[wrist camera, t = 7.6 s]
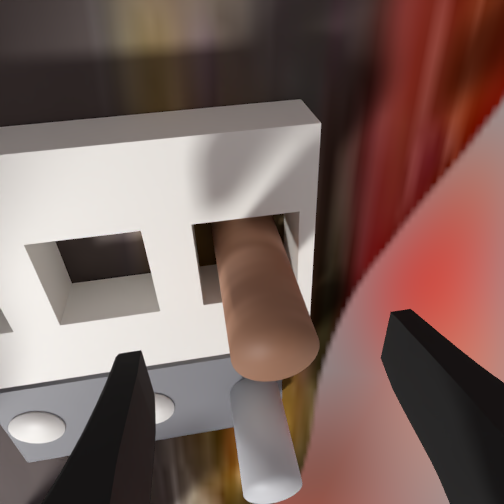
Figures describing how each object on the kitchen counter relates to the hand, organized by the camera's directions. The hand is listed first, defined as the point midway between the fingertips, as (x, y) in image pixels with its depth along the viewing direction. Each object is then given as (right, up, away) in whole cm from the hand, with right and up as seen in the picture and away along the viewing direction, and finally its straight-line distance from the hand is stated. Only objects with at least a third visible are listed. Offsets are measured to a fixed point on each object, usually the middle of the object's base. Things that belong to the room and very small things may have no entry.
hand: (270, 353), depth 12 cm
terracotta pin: (-1, +4, +6) cm, 7 cm away
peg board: (-6, +3, +5) cm, 9 cm away
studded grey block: (-6, -4, +11) cm, 13 cm away
